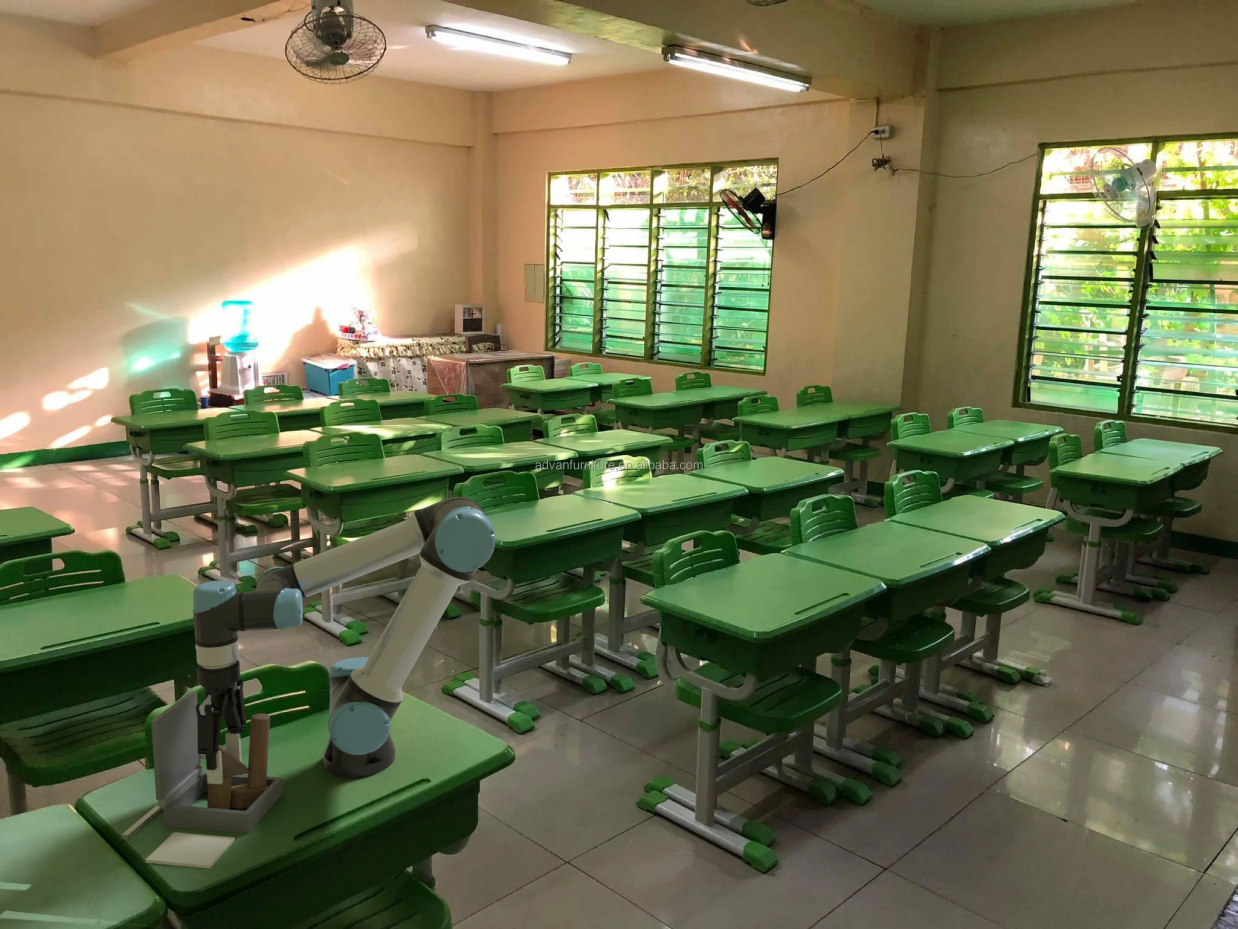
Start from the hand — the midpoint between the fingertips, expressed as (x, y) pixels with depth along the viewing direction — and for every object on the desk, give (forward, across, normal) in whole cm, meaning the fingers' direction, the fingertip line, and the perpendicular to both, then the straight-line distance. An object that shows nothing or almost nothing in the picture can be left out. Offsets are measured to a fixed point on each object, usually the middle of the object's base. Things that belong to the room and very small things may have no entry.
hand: (225, 773), depth 186 cm
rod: (+8, +6, -13) cm, 17 cm away
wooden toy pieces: (+8, -1, +2) cm, 8 cm away
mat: (+8, +14, +1) cm, 16 cm away
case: (+8, 0, 0) cm, 8 cm away
